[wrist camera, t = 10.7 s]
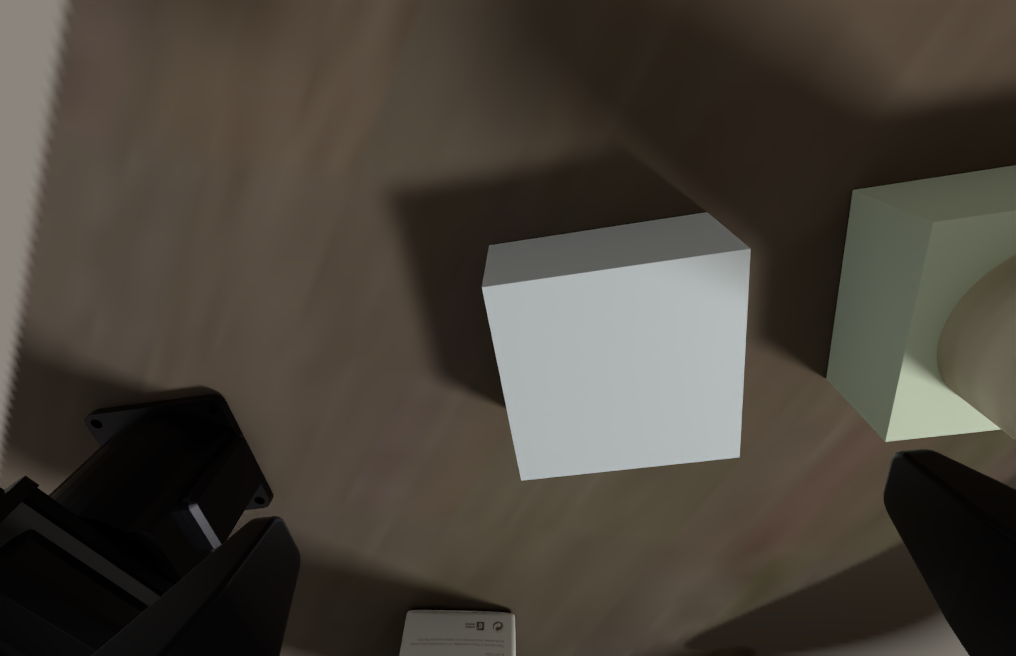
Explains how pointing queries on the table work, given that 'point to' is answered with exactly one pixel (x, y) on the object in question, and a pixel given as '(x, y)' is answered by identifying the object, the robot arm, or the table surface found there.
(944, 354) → the birch cylinder
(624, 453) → the blue-grey block
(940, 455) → the robot arm
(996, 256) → the sage block
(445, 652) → the skincare box
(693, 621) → the table surface
